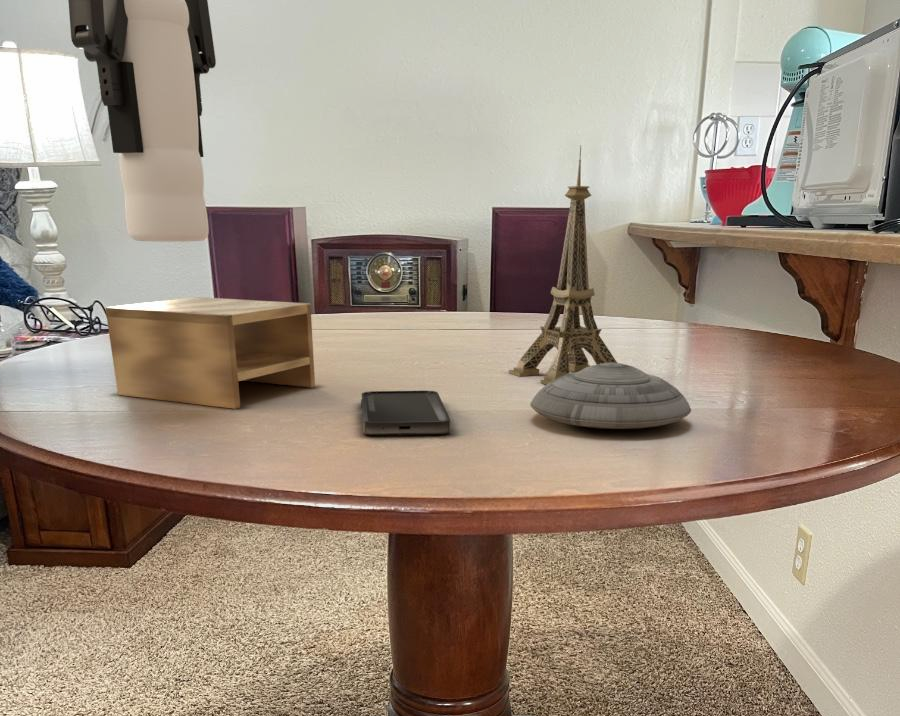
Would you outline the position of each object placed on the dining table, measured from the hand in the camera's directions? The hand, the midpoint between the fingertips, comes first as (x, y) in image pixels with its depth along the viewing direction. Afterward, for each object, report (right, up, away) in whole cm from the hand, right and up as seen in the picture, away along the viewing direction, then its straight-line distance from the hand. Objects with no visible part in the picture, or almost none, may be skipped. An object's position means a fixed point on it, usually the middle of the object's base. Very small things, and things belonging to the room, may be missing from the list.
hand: (159, 154), depth 78 cm
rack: (0, -16, +21) cm, 26 cm away
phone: (+21, -22, +8) cm, 31 cm away
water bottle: (0, -7, +3) cm, 7 cm away
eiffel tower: (+40, -12, +30) cm, 51 cm away
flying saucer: (+40, -22, +7) cm, 47 cm away
